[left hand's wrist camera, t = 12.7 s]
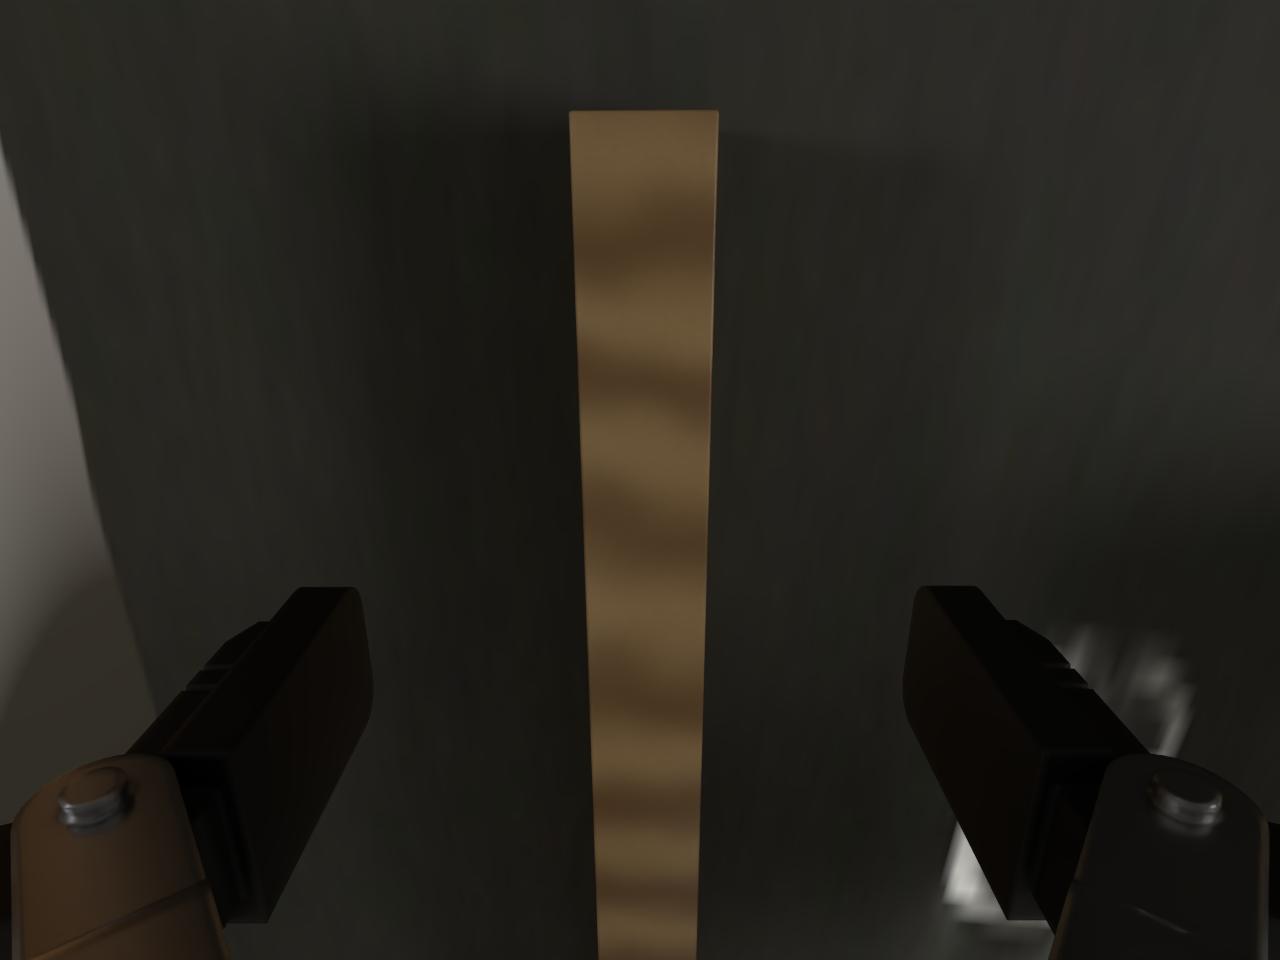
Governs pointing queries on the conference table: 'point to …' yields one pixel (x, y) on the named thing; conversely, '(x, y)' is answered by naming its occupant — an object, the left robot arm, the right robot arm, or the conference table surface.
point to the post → (645, 504)
